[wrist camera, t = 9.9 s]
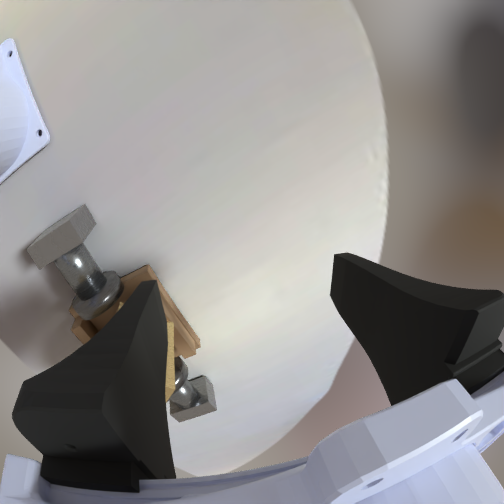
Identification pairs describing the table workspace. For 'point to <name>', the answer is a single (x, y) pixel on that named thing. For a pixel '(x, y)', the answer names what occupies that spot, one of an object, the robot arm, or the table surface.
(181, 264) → the table surface
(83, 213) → the shaft stand
